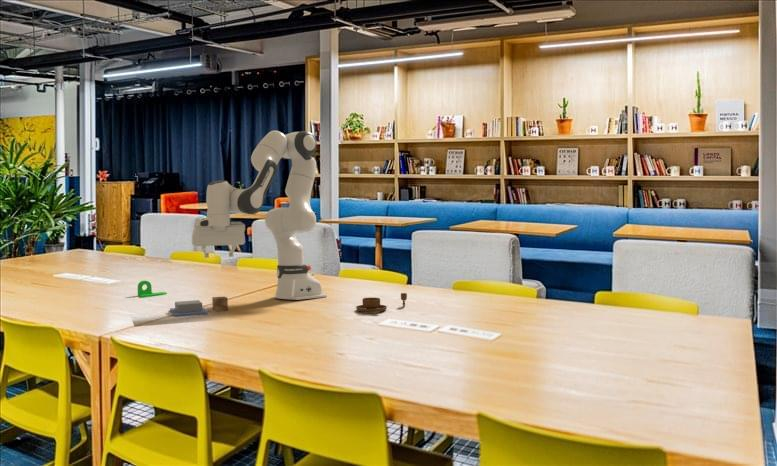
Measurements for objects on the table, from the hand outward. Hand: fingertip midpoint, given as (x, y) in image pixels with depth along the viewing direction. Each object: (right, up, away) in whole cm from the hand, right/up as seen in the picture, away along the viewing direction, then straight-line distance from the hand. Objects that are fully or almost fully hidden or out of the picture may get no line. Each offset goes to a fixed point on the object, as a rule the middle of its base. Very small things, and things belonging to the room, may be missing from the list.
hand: (219, 257), depth 261 cm
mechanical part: (-39, -20, +37) cm, 58 cm away
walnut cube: (0, -21, +1) cm, 21 cm away
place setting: (+64, -21, -1) cm, 67 cm away
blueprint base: (-11, -21, -4) cm, 24 cm away
